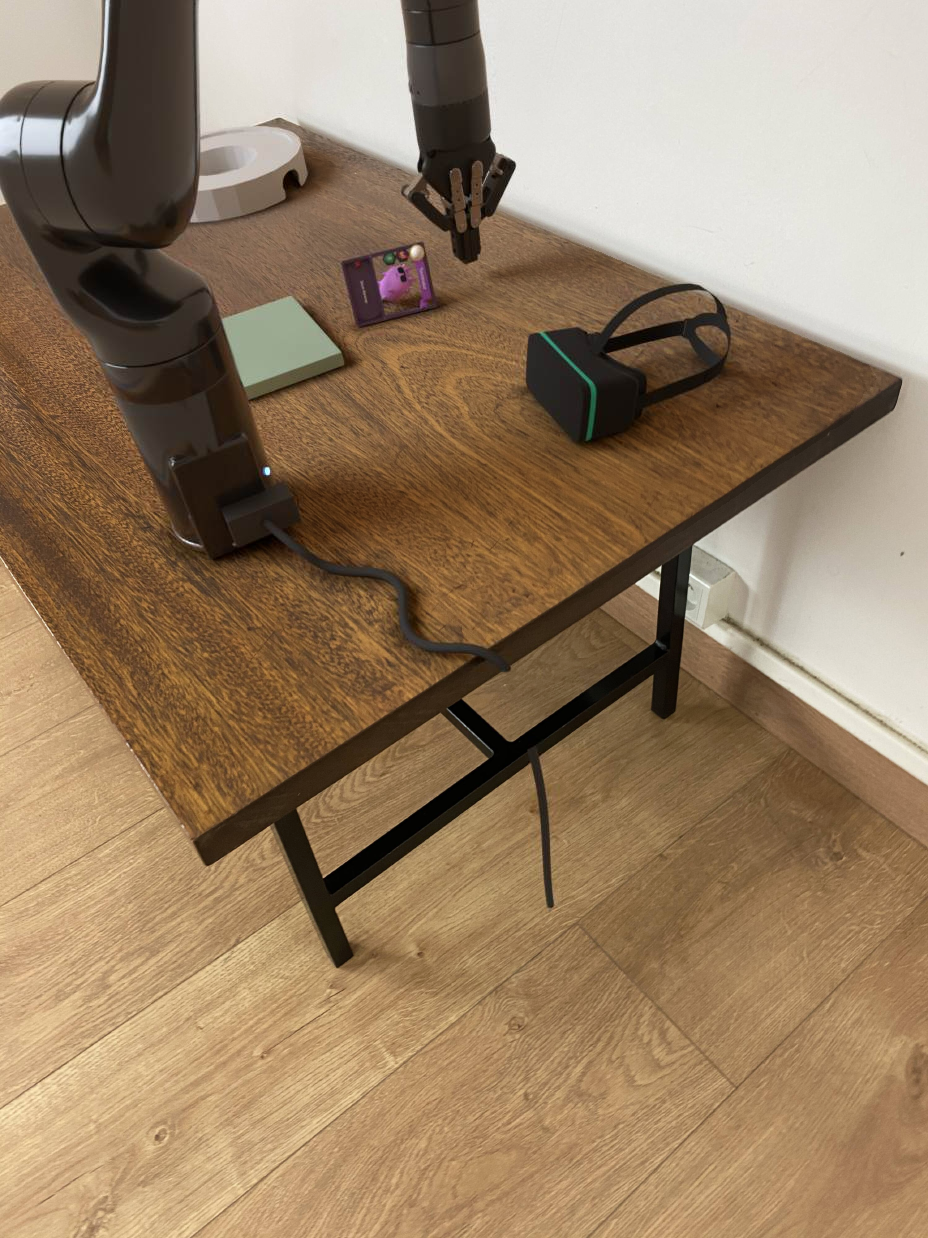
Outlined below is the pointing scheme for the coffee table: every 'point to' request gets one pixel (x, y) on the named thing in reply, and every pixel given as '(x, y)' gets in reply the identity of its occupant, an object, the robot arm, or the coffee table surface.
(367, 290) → the game card
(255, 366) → the notebook
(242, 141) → the white notched ring
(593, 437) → the virtual reality headset
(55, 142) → the robot arm
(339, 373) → the coffee table surface
